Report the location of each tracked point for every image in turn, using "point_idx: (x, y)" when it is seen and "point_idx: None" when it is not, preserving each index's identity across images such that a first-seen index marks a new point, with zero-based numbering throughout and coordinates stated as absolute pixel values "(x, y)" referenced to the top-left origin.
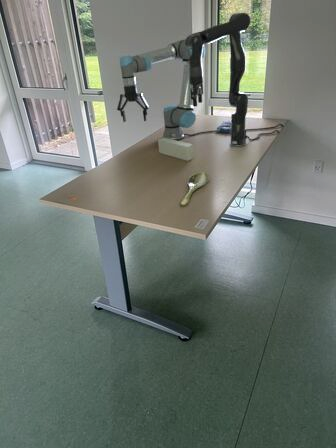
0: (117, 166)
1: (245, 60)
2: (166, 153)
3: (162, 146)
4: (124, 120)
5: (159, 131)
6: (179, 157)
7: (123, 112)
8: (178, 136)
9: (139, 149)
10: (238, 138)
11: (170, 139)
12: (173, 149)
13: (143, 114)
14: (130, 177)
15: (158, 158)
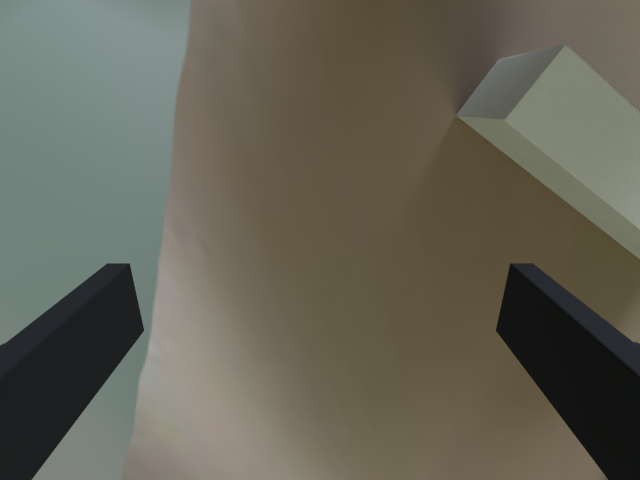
0: (241, 344)
1: None
2: (519, 162)
3: (516, 146)
4: (131, 343)
5: None
6: (604, 230)
7: (15, 467)
8: None
9: (273, 27)
10: None
11: (631, 117)
12: (603, 216)
13: (575, 428)
14: (358, 448)
15: (461, 226)
